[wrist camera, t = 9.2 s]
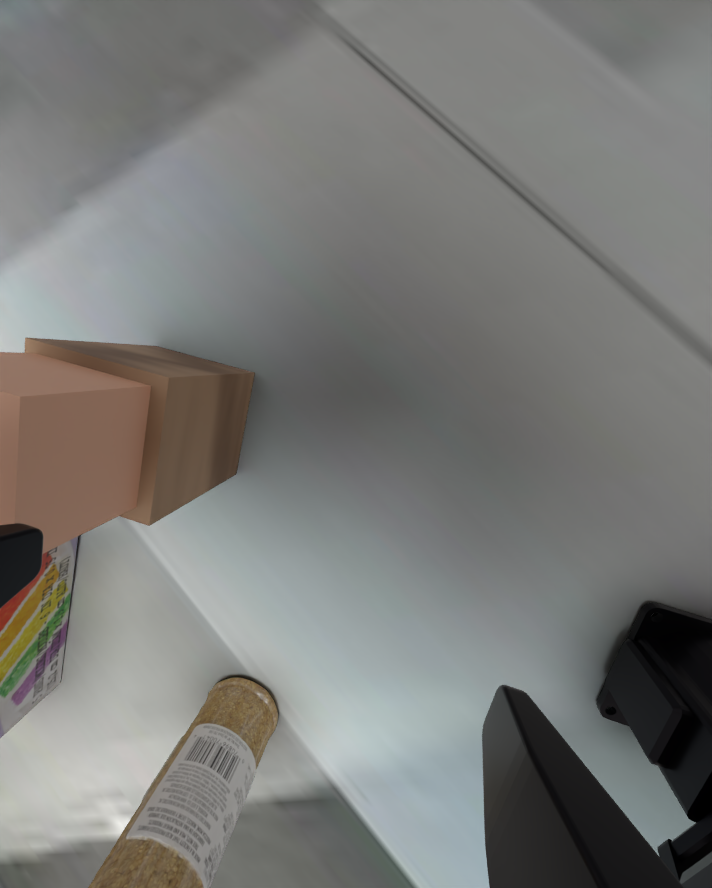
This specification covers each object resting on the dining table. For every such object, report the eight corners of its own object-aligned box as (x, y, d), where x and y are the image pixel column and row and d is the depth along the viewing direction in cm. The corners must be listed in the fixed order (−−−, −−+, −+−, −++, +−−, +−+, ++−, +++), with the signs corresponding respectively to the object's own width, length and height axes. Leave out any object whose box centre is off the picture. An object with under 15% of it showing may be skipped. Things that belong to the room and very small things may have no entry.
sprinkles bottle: (197, 704, 25) (-53, 1081, 12) (236, 659, 24) (8, 1022, 11) (253, 750, 25) (66, 1179, 12) (296, 708, 24) (140, 1132, 11)
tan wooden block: (255, 372, 20) (169, 377, 13) (236, 474, 21) (149, 525, 15) (156, 345, 21) (25, 337, 14) (143, 446, 22) (18, 483, 15)
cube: (151, 385, 13) (20, 396, 9) (136, 507, 14) (13, 568, 10) (35, 353, 14) (-143, 348, 10) (28, 472, 15) (-134, 517, 11)
